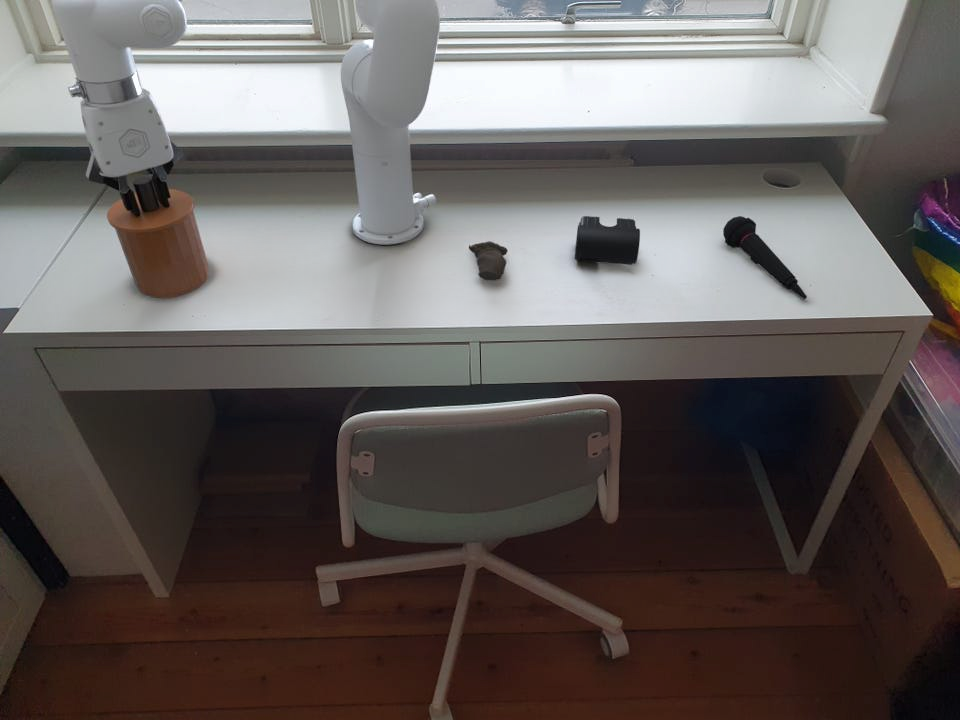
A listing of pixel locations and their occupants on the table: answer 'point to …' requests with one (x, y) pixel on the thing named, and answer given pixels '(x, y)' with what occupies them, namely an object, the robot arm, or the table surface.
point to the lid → (150, 209)
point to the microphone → (759, 251)
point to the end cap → (607, 241)
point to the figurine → (489, 259)
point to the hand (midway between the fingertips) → (149, 207)
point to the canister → (166, 259)
